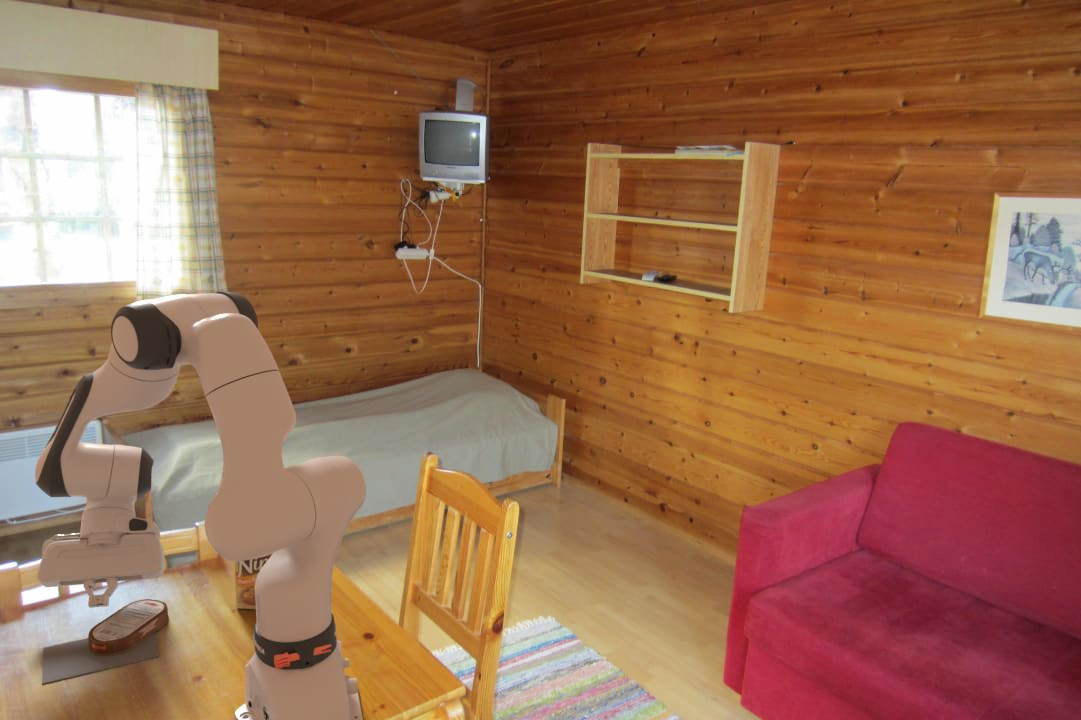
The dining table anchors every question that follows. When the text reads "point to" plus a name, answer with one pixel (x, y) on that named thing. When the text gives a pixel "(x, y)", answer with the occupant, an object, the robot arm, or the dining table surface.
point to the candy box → (247, 581)
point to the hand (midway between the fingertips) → (98, 606)
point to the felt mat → (90, 659)
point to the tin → (127, 627)
